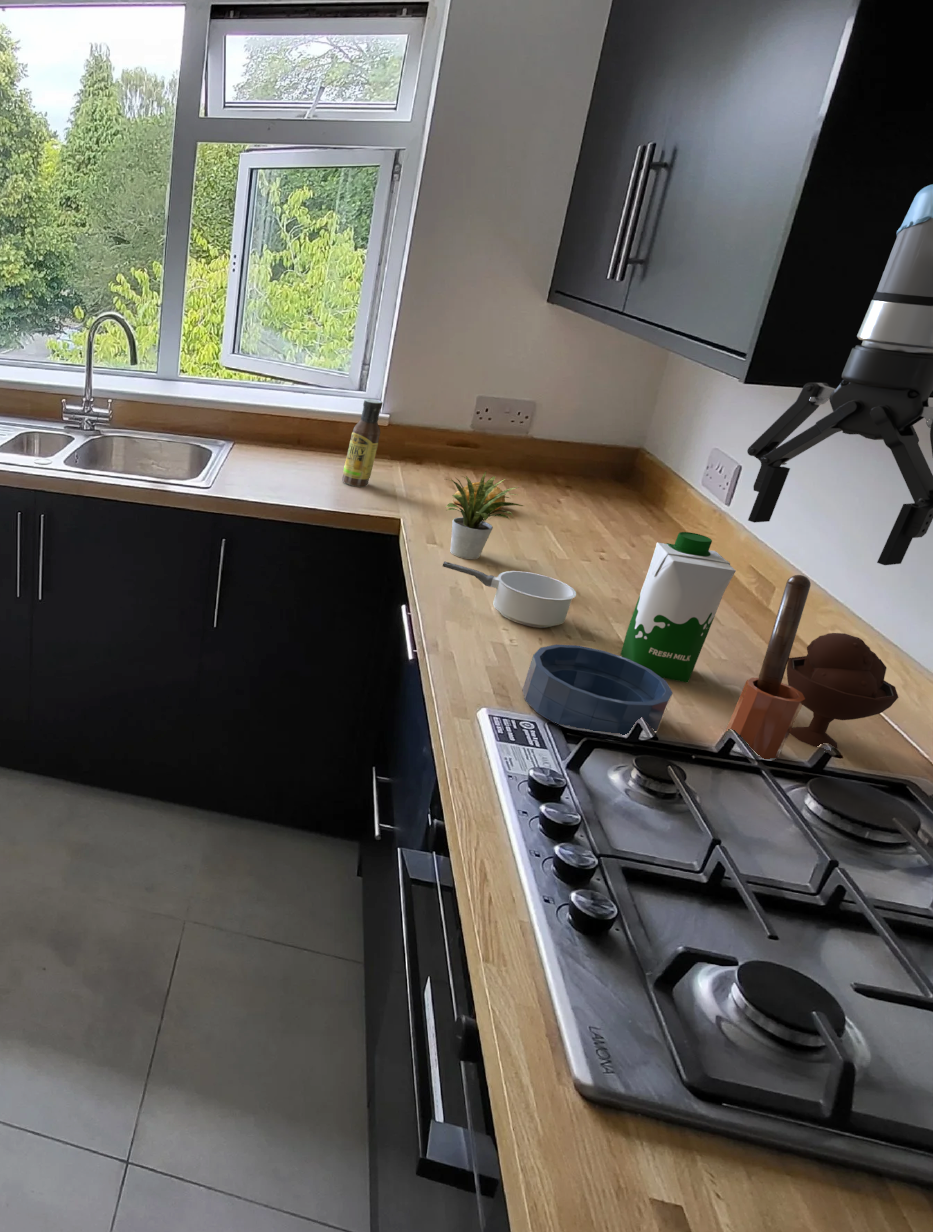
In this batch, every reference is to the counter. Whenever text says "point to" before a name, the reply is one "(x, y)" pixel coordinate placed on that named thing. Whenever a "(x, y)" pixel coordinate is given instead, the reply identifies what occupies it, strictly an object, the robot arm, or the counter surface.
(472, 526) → the house plant
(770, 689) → the cooking stick
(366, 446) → the sauce bottle
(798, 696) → the utensil pot
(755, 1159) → the counter surface
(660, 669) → the milk carton
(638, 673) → the mixing bowl
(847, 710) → the ice cream bowl
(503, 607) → the saucepan
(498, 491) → the bagel
